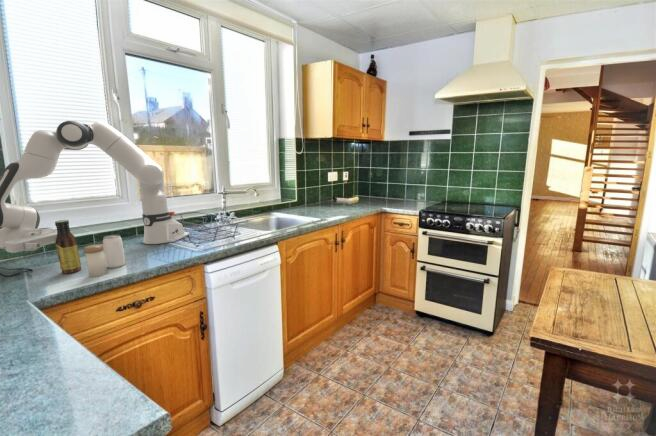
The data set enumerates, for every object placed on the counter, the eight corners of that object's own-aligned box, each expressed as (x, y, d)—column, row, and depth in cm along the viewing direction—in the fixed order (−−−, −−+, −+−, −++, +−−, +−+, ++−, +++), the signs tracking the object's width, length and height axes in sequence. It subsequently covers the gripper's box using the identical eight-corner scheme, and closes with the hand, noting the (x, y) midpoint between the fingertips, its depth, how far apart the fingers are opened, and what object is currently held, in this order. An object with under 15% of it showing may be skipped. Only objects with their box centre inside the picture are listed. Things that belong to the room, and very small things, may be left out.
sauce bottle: (64, 269, 132) (55, 219, 128) (83, 267, 134) (74, 218, 130) (58, 275, 126) (48, 223, 122) (78, 273, 128) (68, 221, 124)
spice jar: (100, 270, 131) (95, 243, 128) (111, 272, 129) (107, 244, 126) (84, 276, 125) (79, 248, 123) (96, 277, 123) (91, 249, 121)
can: (129, 262, 139) (125, 234, 136) (118, 268, 132) (113, 238, 130) (114, 262, 139) (109, 234, 137) (102, 268, 133) (97, 238, 130)
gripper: (-6, 238, 126) (17, 241, 121) (54, 226, 144) (76, 228, 140) (-2, 255, 127) (21, 258, 122) (57, 240, 146) (79, 242, 141)
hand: (51, 242), depth 131 cm, fingers open, 8 cm apart
